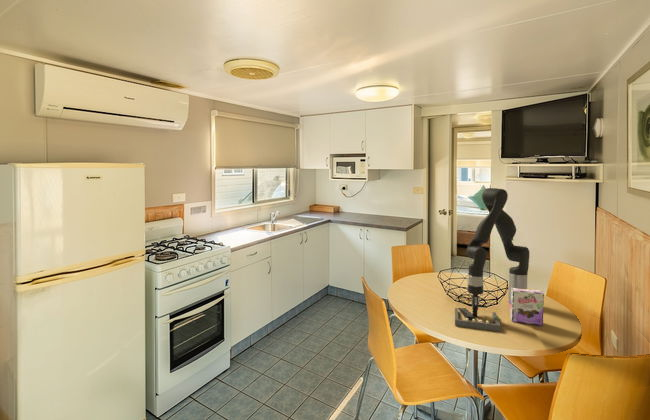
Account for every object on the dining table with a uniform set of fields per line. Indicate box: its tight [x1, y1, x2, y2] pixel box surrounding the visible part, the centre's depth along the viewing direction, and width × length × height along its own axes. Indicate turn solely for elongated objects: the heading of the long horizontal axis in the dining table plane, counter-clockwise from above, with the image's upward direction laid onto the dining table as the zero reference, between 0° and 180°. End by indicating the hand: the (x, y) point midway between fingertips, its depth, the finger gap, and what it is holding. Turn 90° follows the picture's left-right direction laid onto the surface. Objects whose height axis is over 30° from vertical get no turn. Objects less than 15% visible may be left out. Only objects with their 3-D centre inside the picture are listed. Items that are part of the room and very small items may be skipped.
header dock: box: [454, 307, 502, 333], centre depth 170 cm, size 20×20×4 cm
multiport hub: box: [457, 307, 476, 321], centre depth 179 cm, size 4×14×2 cm, turn 176°
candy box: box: [509, 288, 545, 326], centre depth 171 cm, size 14×6×16 cm, turn 68°
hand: (474, 316), depth 177 cm, fingers closed
